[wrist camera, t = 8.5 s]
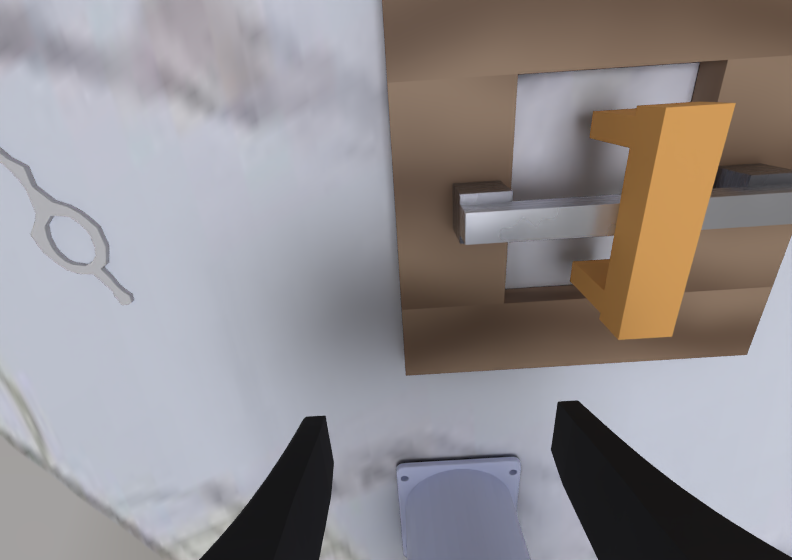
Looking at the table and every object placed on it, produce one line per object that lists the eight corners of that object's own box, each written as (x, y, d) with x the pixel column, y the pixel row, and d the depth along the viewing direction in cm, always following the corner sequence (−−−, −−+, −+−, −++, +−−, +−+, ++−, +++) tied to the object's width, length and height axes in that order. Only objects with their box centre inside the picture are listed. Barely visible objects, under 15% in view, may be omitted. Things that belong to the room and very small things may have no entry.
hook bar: (745, 209, 18) (814, 232, 15) (452, 228, 18) (464, 254, 15) (760, 163, 17) (836, 178, 14) (452, 183, 17) (465, 202, 14)
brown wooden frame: (725, 338, 23) (746, 354, 21) (404, 358, 23) (405, 375, 21) (864, -70, 15) (911, -86, 14) (379, -36, 15) (379, -48, 14)
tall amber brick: (611, 284, 19) (671, 336, 15) (569, 286, 19) (618, 339, 15) (645, 99, 16) (735, 102, 12) (594, 102, 16) (665, 107, 12)
